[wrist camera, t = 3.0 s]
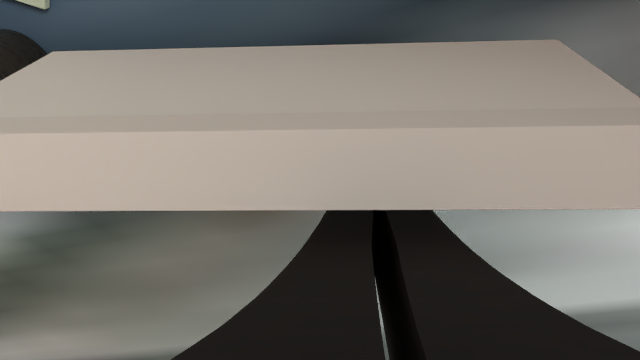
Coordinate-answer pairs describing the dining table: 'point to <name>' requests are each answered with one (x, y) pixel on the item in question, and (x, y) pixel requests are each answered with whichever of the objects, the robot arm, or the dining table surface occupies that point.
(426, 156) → the beige flat panel
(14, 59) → the hinge post
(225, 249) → the dining table surface
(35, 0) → the sill strip
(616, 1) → the dining table surface
